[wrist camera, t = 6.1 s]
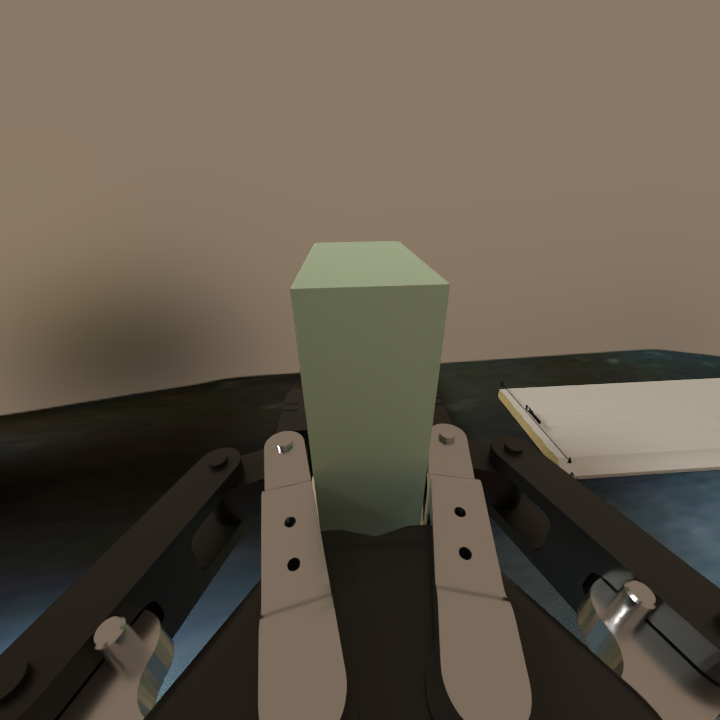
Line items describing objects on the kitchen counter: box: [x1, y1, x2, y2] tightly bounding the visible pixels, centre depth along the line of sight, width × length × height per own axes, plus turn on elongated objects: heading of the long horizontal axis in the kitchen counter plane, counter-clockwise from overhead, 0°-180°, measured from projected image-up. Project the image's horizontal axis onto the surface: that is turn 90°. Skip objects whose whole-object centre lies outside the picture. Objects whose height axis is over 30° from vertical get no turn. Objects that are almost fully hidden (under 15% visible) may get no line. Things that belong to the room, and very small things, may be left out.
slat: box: [290, 241, 450, 536], centre depth 12 cm, size 3×6×16 cm, turn 3°
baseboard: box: [498, 378, 720, 479], centre depth 27 cm, size 31×3×12 cm
